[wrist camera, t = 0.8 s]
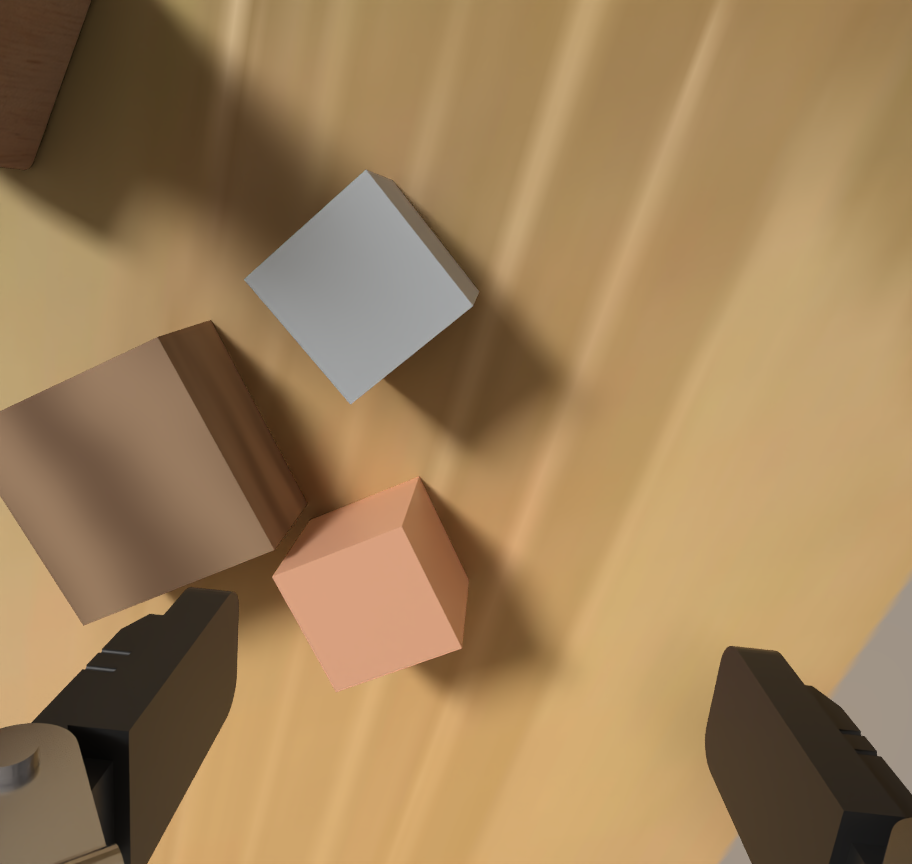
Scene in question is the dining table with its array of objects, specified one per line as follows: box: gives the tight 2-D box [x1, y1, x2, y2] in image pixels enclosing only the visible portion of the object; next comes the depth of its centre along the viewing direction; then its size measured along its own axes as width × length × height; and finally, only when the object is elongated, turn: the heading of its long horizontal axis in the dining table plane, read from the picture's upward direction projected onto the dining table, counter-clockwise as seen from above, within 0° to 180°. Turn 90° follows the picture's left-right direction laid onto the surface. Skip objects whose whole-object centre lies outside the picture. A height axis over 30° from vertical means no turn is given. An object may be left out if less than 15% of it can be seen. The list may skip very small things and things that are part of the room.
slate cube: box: [244, 170, 479, 404], centre depth 26 cm, size 6×6×6 cm
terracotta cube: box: [272, 477, 469, 692], centre depth 30 cm, size 6×6×6 cm
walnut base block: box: [0, 320, 307, 626], centre depth 29 cm, size 9×9×5 cm
